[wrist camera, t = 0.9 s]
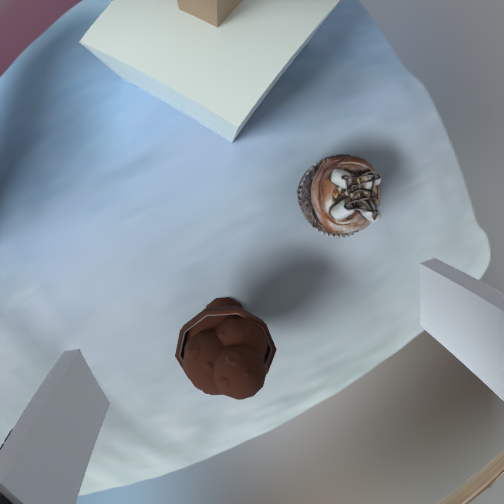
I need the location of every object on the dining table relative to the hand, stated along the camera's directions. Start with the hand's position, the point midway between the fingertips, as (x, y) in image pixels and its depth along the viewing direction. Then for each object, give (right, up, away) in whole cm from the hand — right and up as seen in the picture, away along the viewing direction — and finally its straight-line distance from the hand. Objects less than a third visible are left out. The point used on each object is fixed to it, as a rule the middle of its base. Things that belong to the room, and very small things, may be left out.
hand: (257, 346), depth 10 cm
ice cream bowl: (-4, -5, +31) cm, 32 cm away
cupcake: (+9, +11, +28) cm, 32 cm away
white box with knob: (-5, +28, +22) cm, 36 cm away
